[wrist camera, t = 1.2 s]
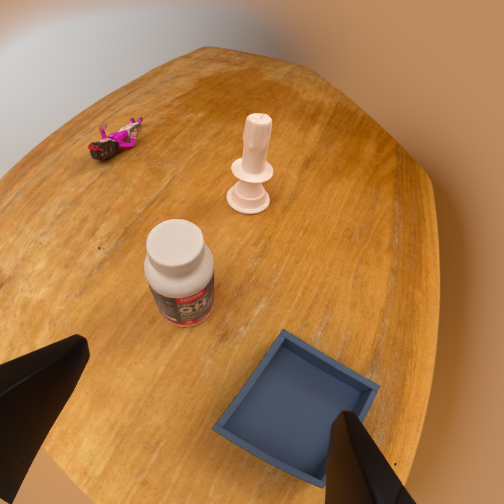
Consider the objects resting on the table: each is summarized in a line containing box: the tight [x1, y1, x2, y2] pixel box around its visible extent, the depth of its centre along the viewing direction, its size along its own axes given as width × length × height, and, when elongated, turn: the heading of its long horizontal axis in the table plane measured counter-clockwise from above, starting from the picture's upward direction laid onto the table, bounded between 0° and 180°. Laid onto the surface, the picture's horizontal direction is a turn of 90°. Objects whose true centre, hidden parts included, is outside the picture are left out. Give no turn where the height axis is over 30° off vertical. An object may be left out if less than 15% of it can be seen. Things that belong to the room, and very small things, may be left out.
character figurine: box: [88, 117, 143, 160], centre depth 38 cm, size 6×5×12 cm
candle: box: [226, 113, 273, 214], centre depth 30 cm, size 5×5×12 cm
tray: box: [212, 329, 380, 489], centre depth 21 cm, size 10×10×3 cm
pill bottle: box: [144, 219, 214, 327], centre depth 23 cm, size 5×5×10 cm
